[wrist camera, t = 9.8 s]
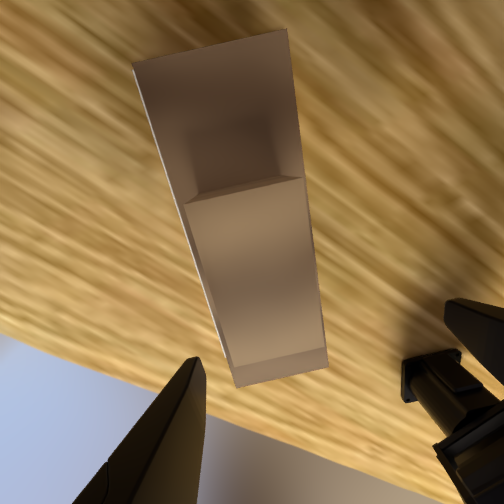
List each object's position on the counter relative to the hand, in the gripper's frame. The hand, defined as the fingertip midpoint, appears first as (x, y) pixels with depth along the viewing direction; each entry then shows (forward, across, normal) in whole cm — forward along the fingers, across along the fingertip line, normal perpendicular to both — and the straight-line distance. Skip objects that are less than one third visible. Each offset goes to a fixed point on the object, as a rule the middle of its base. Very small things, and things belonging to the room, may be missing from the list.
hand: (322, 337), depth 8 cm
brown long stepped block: (+8, +2, -2) cm, 8 cm away
